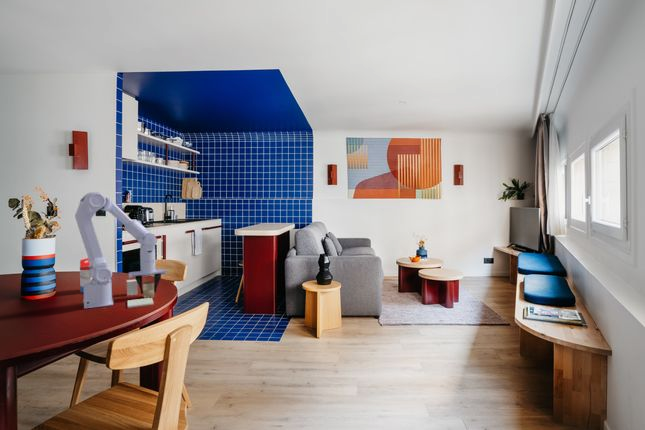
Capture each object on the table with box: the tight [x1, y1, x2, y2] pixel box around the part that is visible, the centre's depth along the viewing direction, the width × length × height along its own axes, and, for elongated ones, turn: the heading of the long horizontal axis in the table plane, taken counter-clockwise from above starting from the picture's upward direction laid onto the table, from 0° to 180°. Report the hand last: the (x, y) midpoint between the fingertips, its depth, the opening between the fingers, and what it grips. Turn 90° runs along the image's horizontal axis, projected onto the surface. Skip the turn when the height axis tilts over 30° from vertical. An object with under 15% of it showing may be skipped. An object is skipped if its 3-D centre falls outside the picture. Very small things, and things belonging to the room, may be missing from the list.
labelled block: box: [142, 280, 155, 299], centre depth 154 cm, size 4×4×6 cm
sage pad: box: [127, 297, 155, 309], centre depth 144 cm, size 9×9×1 cm
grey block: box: [126, 278, 139, 297], centre depth 158 cm, size 4×4×6 cm
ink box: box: [79, 257, 92, 294], centre depth 164 cm, size 8×5×15 cm, turn 179°
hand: (148, 292), depth 154 cm, fingers open, 4 cm apart
